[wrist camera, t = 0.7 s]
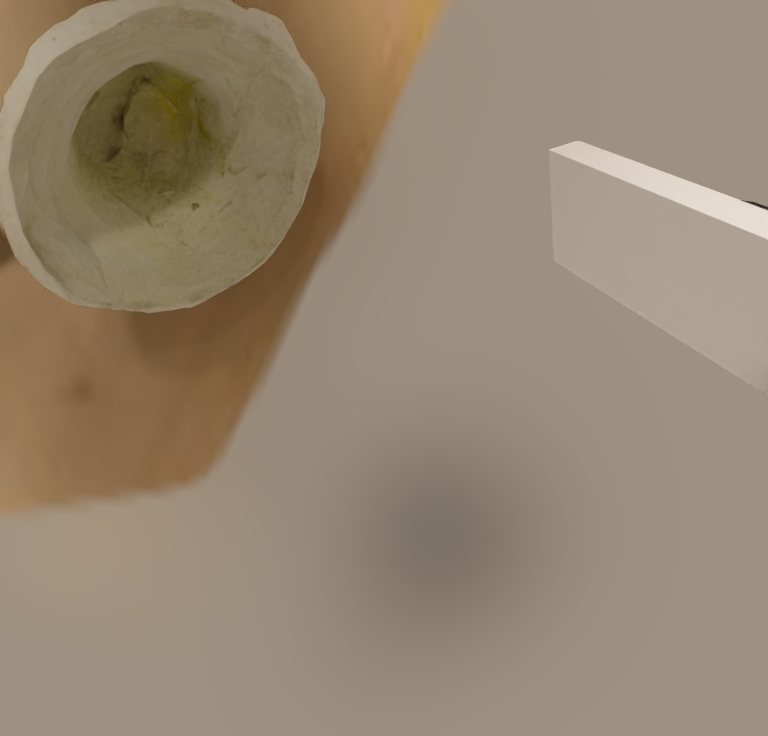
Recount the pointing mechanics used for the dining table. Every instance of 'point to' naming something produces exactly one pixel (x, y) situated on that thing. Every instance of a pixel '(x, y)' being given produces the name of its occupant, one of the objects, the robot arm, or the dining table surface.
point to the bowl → (156, 151)
